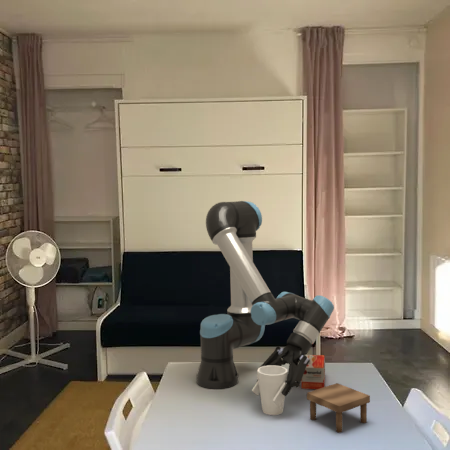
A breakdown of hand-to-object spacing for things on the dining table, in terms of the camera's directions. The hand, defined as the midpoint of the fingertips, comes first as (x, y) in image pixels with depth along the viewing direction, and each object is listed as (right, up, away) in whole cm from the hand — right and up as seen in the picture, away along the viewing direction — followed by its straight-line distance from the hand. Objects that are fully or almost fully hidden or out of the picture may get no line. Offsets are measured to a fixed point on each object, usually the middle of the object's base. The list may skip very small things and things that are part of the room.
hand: (264, 398), depth 167 cm
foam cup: (+3, -5, +2) cm, 6 cm away
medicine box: (+19, -3, +27) cm, 33 cm away
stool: (+21, -5, -5) cm, 23 cm away
